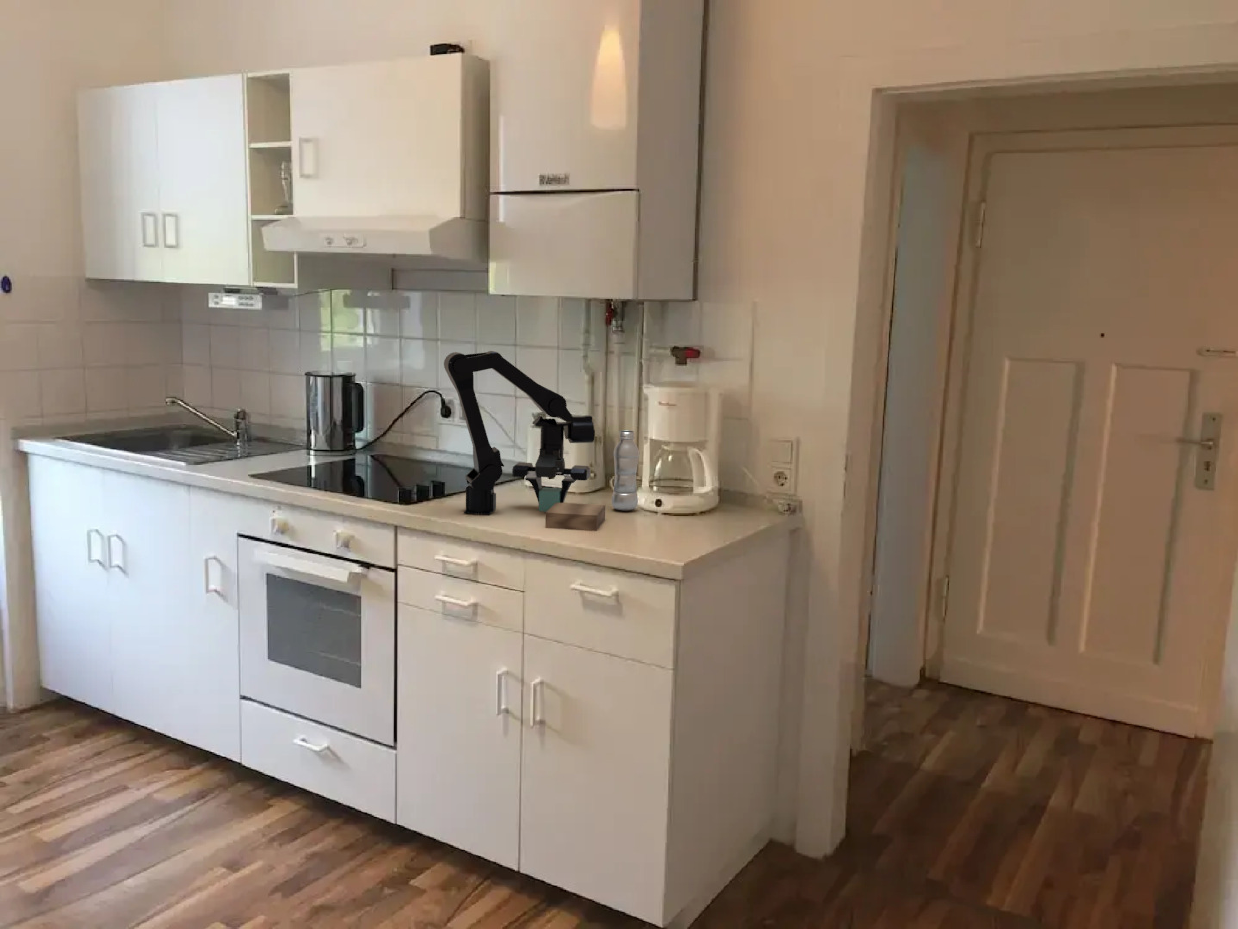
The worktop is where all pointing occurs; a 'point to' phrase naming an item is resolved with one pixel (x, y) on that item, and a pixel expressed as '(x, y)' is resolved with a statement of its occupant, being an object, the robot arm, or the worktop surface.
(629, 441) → the plastic bottle
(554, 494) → the teal cube
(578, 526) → the walnut box
